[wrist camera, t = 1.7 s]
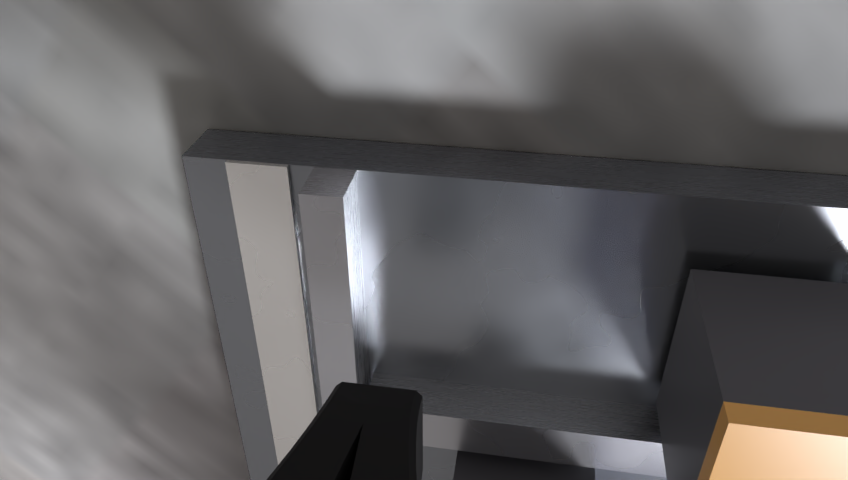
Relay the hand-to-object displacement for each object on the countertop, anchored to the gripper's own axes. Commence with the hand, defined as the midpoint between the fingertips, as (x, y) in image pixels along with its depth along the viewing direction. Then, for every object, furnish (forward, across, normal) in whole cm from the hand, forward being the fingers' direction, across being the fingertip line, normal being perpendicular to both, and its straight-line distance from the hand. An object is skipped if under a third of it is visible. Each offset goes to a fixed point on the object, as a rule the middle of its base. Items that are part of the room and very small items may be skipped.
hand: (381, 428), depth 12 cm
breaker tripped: (+3, -7, 0) cm, 7 cm away
